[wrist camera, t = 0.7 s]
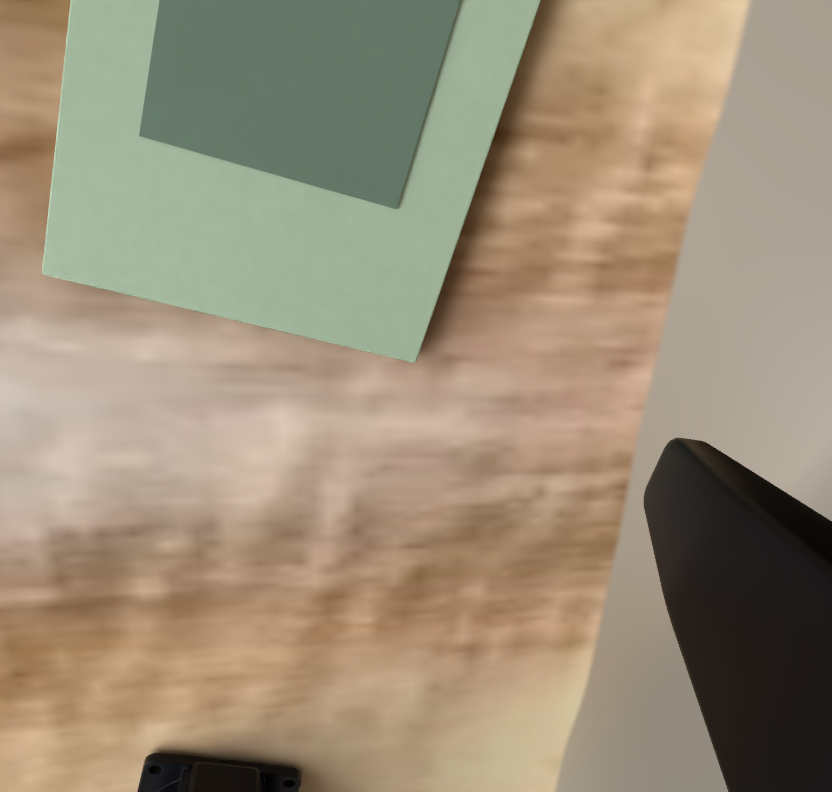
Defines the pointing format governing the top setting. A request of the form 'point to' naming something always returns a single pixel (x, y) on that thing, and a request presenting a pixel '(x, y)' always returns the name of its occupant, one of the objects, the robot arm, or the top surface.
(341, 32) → the mat
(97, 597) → the top surface
